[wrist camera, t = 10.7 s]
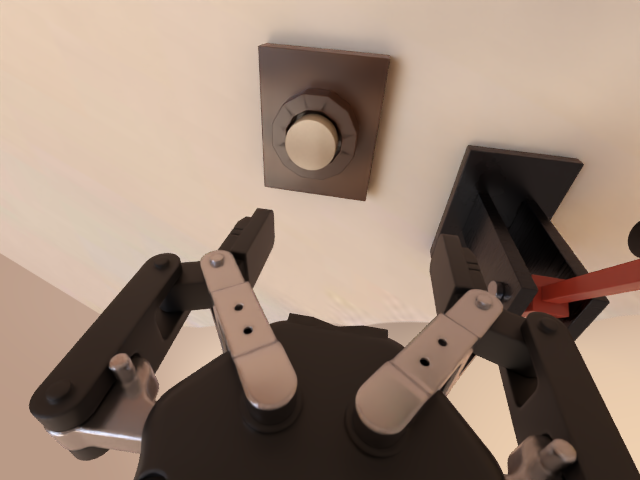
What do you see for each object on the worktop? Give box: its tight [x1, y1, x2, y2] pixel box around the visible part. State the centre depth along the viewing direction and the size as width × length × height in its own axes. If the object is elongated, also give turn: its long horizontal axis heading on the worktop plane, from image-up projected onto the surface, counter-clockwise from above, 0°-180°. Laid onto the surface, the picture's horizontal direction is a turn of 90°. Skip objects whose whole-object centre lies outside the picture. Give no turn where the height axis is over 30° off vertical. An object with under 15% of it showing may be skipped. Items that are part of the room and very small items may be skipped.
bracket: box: [430, 145, 610, 341], centre depth 26 cm, size 12×9×13 cm
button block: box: [258, 43, 390, 201], centre depth 27 cm, size 12×10×4 cm
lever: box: [522, 221, 640, 318], centre depth 17 cm, size 14×6×2 cm
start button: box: [285, 114, 338, 170], centre depth 25 cm, size 4×4×2 cm
